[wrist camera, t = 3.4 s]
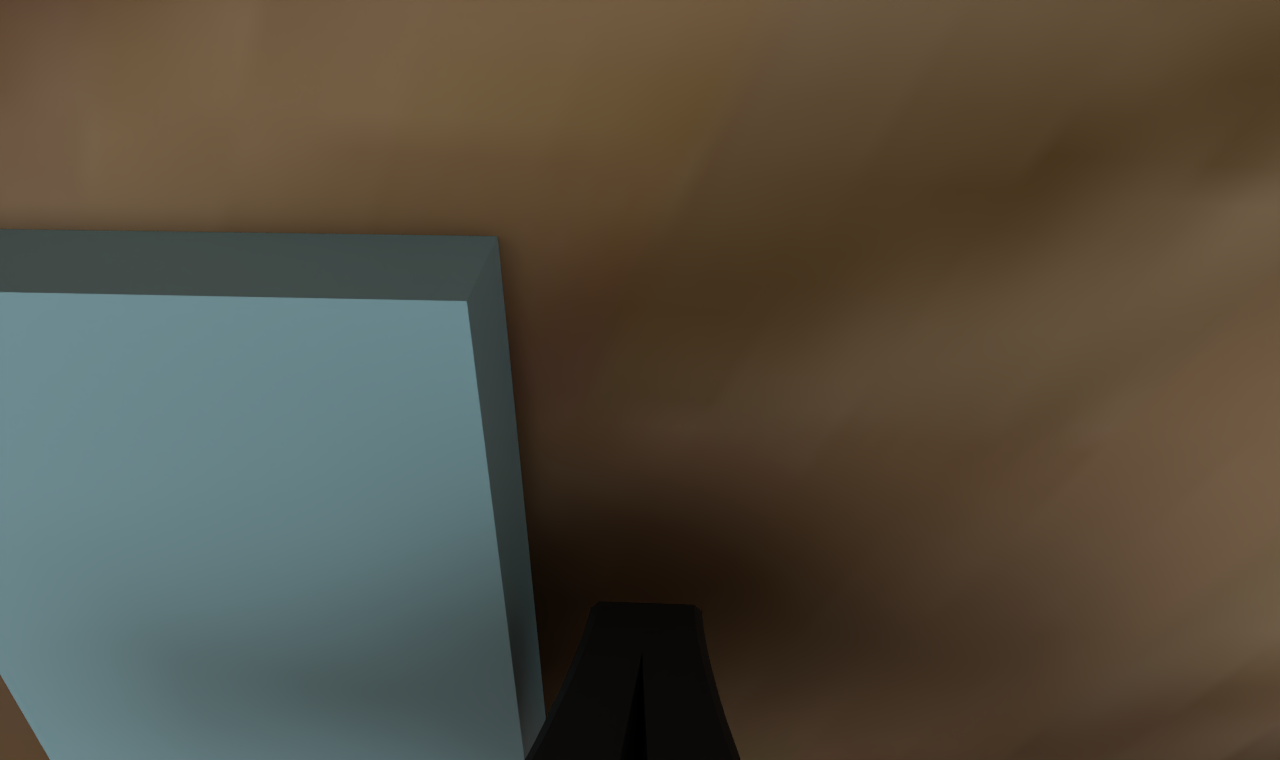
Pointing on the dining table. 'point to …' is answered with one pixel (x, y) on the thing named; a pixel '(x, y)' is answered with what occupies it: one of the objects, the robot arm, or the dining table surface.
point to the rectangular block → (262, 498)
